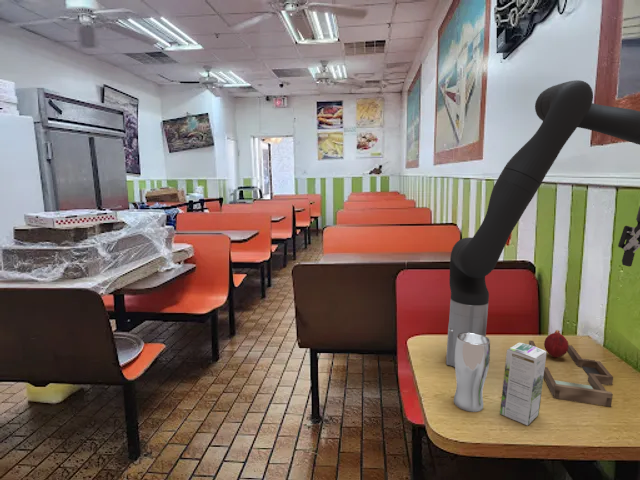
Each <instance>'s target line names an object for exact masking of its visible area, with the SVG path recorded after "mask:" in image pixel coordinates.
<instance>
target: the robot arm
mask: <svg viewBox="0 0 640 480" xmlns="http://www.w3.org/2000/svg"><path fill="white" fill-rule="evenodd" d="M593 101H594V92H593V89H592V87H591V85H590V84H589V83H588V82H587V81H583V80H580V79H579V80H577V79H576V80H570V81H566V82H561V83H558V84H555V85H552V86H550V87H548V88H546V89H544V90H542V92H540V93H539V95H538V96H537V99H536V100H535V104H534V105H535V106H534V110H535V111H534V112H535V114H536V116H537V117H538V118H539V120H540V121H542V123H541V124H540V126H539V128H538V129H537V131H536V132H535V133H534V134H533V136H532V137H531V138H529V140H528V141H527V142H526V143H525V144H524V145H523V146H522V147H521V148H519V149H518V151H517V152H516V153H514V155H513V156H512V157H511V158H510V159H509V160H508V162H506V164H505V166H504V168H503V169H502V170H501V173H500V174H499V176H498V177H497V179H496V181H495V182H494V183H495V184H494V186H493V187H492V189H491V193H490V197H489V201H488V206H487V210H486V213H485V216H484V219H483V220H482V222H481V224H480V225H479V228H478V229H477V231H476V232H475V234H474V235H473V236H472V237H464V238H460V239H459V240H458V241H457V242H456V243H455V244H454V245H453V247H452V248H451V249H452V250H451V252H450V259H449V260H450V261H449V281H448V282H449V288H450V303H449V318H448V319H449V320H448V324H447V325H448V327H447V339H446V340H447V343H446V353H445V354H446V357H445V359H446V362H445V364H446V365H447V366H451V367H454V368H455V348H456V341H457V335H458V334H460V333H477V334H481V335H483V336H486V335H487V324H488V314H489V313H488V312H489V310H488V309H489V301H490V293H489V290H488V287H487V283H486V276H488V275H489V274H491V272H492V271H494V270H495V268H496V265H497V263H498V261H499V260H500V258H501V256H502V253H503V251H504V248H505V246H506V244H507V243H508V240H509V238H510V236H511V235H512V232H513V230H514V229H515V227H516V225H517V224H518V222H519V221H520V219H521V218H522V216H523V214H524V212H525V210H526V209H527V208H528V206H529V204H531V203H530V202H531V201H532V199H534V197H535V195H536V193H537V192H538V190H539V188H540V186H541V185H542V184H543V181H544V179H545V178H546V176H547V174H548V172H549V170H550V169H551V167H552V166H553V165H554V163H555V161H556V160H557V158H558V156H559V154H560V152H561V151H562V149H563V148H564V146H565V144H566V143H567V142H568V140H569V139H570V138H571V137H572V135H573V134H574V132H575V130H577V128H579V129H584V130H589V131H592V132H596V133H600V134H604V135H608V136H610V137H614V138H617V139H618V140H619V139H620V140H623V141H625V142H630V143H633V144H636V145H639V146H640V110H636V109H632V108H625V107H618V106H609V105H602V104H598V103H593ZM635 220H636V222H637V224H636V226H635V227H632V226H629V225H625V226H624V227H623V229H622V233H621V234H620V239H619V242H618V245H617V247H618V248H620V249H622V250H623V251H624V252H623V255H622V259H621V263H622V264H621V265H623V266H624V267H625V266H626V267H632V266H633V261H634V257H635V254H636V251H637V250H638V249H640V206H639V208H638V211H637V214H636V219H635ZM486 337H487V336H486Z"/></svg>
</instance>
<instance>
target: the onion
mask: <svg viewBox="0 0 640 480" xmlns="http://www.w3.org/2000/svg"><path fill="white" fill-rule="evenodd" d="M568 345H569V342H568V340H567V338H566V337H565V336H564V335H563V334H561V330H559V329H555V331H554V332H553V333H550V334H549V335H547V336H546V337H545V340H544V343H543V347H544V349H545V351H546V352H547V354H549V356H550V357H552V358H553V359H558V358H560V357H563V356H565V354H567V353H568V352H567V351H568Z"/></svg>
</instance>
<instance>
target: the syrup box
mask: <svg viewBox="0 0 640 480" xmlns="http://www.w3.org/2000/svg"><path fill="white" fill-rule="evenodd" d="M547 354H548V352H547V351H546V350H544V349H542V348H539V347H537V346H536V347H534V346H531V345H529V343H528V344H527V343H524V342H517V343H516V344H515V345H513V346H510V347H509V348H508V349H506V356H505V364H504V365H505V366H504V374H503V380H502V381H503V383H502V391H501V392H502V393H501V401H500V410H499V414H500V415H502V416H504V417H506V418H508V419H511V420H513V421H516V422H518V423H519V424H523V425H525V426H527V427H528V426H530V424H531V423H533V421H535V419H537V417H539V416H540V410H541V409H540V408H541V400H542V394H543V393H542V392H543V391H542V390H543V384H544V369H545V367H546V359H547Z"/></svg>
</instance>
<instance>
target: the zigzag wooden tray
mask: <svg viewBox="0 0 640 480" xmlns="http://www.w3.org/2000/svg"><path fill="white" fill-rule="evenodd" d="M528 345H531V346H534V347H537V345H536V343H535V342H534V340H528ZM567 353H568V355H569V357H571V359H572V361H573V362H574V363H575V365H576V366H577V367H579V368H582V369H583V370H584V372H585V374H587V382H588V383H589V384H582V383H575V382H570V381H569V382H568V381H563V380H555V379H554V377H553V375H552V373H551V371H550V369H549V368H548V366H545V369H544V377H543V380H544V381H545V384H546V385H547V387H548V389H549V391H550V392H551V396H552V397H553V399H558V400H562V401H568V402H575V401H576V403H582V402H584V403H583V404H588V403H591V404H590V405H594V404H598V405H597V406H601V405H603V406H602V407H607V406H608V408H612V403H613V392H612V391H607V390H606V388H605V387H604V386H609V385H610V386H613V383H614V382H613V381H614V376H613V375H612V374H611V373H610V372H609V370H608V369H607V368H606V367H605V366H604V364H603V363H602V362H601V361H599V360H595V359H589V358H582V357H581V355H580V354H579V353H578V352H577V350H576V348H575V347H574V346H573V345H571V344H570V345H569V344H568V351H567Z"/></svg>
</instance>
